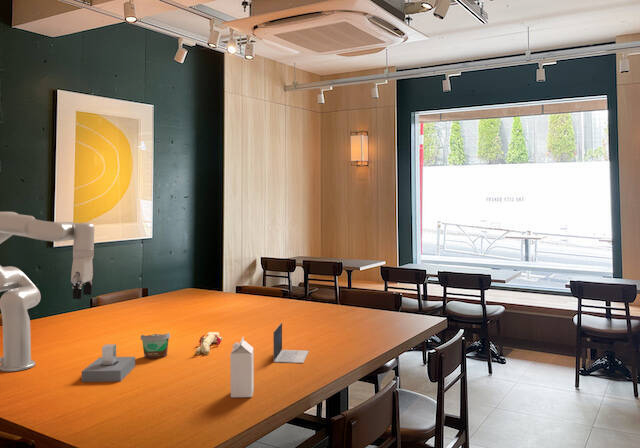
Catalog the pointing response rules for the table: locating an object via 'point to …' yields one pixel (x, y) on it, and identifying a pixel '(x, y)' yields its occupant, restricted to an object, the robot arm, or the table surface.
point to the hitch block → (108, 370)
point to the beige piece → (208, 342)
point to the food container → (155, 345)
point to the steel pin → (109, 355)
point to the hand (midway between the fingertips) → (82, 296)
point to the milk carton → (242, 370)
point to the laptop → (285, 355)
